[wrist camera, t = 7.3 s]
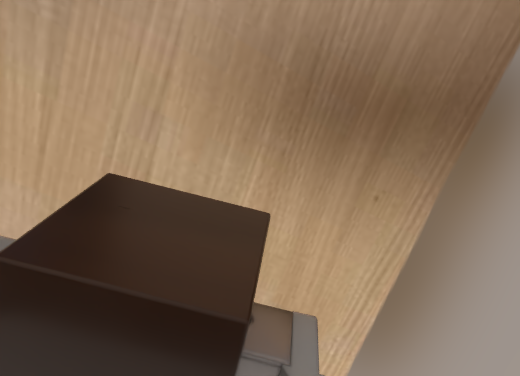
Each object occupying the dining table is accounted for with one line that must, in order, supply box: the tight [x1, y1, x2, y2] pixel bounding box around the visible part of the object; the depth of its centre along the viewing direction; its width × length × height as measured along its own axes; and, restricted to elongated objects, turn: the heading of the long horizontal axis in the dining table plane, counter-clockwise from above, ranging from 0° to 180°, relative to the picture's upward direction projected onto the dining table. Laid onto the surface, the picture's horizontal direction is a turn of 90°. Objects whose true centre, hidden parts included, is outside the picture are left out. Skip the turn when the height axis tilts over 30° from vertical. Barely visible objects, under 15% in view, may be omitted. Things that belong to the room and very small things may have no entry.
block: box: [0, 173, 270, 376], centre depth 9 cm, size 4×4×4 cm
